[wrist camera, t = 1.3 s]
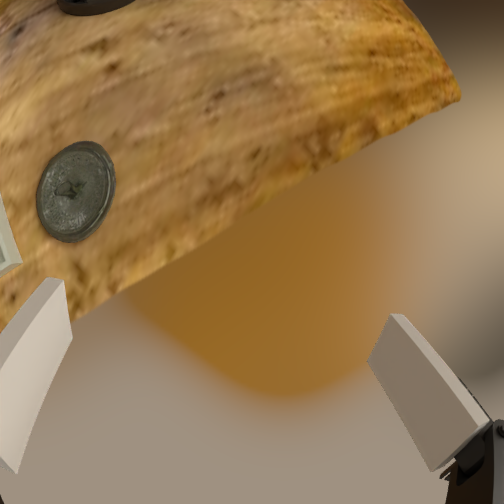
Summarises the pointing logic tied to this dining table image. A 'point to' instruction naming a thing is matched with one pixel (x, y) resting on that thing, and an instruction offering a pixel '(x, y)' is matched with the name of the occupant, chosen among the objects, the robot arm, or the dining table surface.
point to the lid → (76, 191)
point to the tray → (7, 244)
